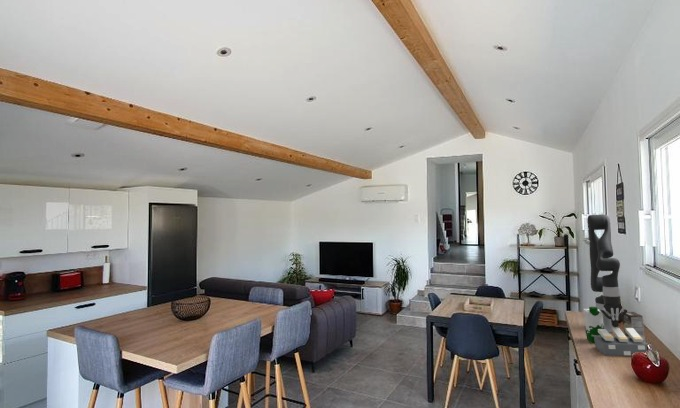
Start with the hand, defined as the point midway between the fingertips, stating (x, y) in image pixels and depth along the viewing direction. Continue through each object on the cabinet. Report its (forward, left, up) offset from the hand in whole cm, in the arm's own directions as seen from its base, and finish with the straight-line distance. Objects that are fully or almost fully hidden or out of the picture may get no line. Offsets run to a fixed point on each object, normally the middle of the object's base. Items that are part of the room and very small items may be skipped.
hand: (615, 326), depth 201 cm
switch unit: (+4, 0, -12) cm, 13 cm away
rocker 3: (+4, +7, -3) cm, 8 cm away
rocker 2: (+4, 0, -3) cm, 5 cm away
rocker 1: (+4, -6, -3) cm, 8 cm away
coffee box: (-12, +13, -12) cm, 21 cm away
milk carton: (-13, -6, -12) cm, 18 cm away
